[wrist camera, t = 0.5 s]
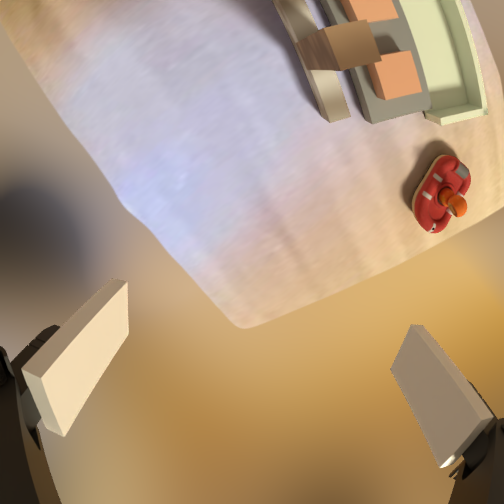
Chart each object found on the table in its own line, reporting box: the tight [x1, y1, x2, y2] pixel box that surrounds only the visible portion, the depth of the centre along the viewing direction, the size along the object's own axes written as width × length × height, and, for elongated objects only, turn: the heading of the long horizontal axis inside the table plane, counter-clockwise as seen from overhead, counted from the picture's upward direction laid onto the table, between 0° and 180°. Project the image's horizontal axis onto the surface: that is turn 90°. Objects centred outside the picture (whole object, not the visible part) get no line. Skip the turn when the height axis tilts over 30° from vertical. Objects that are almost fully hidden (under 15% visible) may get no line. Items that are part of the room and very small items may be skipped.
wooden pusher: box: [272, 0, 382, 123], centre depth 21 cm, size 16×3×16 cm, turn 23°
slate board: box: [320, 0, 432, 124], centre depth 25 cm, size 20×9×2 cm, turn 23°
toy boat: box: [412, 155, 471, 233], centre depth 34 cm, size 8×12×8 cm, turn 158°
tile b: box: [367, 50, 422, 100], centre depth 25 cm, size 5×5×2 cm
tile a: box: [340, 0, 399, 23], centre depth 21 cm, size 5×5×2 cm
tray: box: [399, 0, 488, 126], centre depth 23 cm, size 22×9×4 cm, turn 23°
